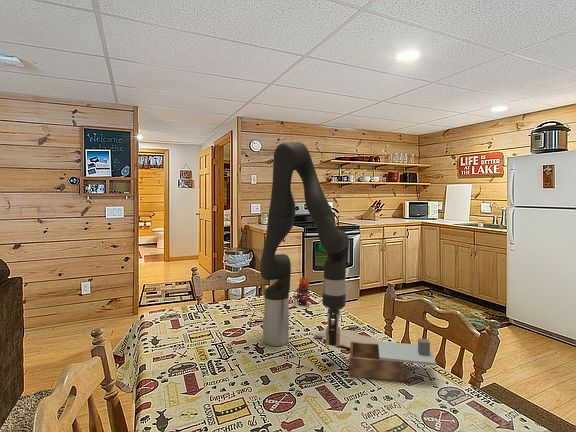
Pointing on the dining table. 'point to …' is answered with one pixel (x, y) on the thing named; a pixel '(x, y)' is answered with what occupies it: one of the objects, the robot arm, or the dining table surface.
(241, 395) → the dining table surface
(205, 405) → the dining table surface
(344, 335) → the stone tool
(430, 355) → the lid
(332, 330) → the cube
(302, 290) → the figurine
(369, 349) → the brown wooden box
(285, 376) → the dining table surface
